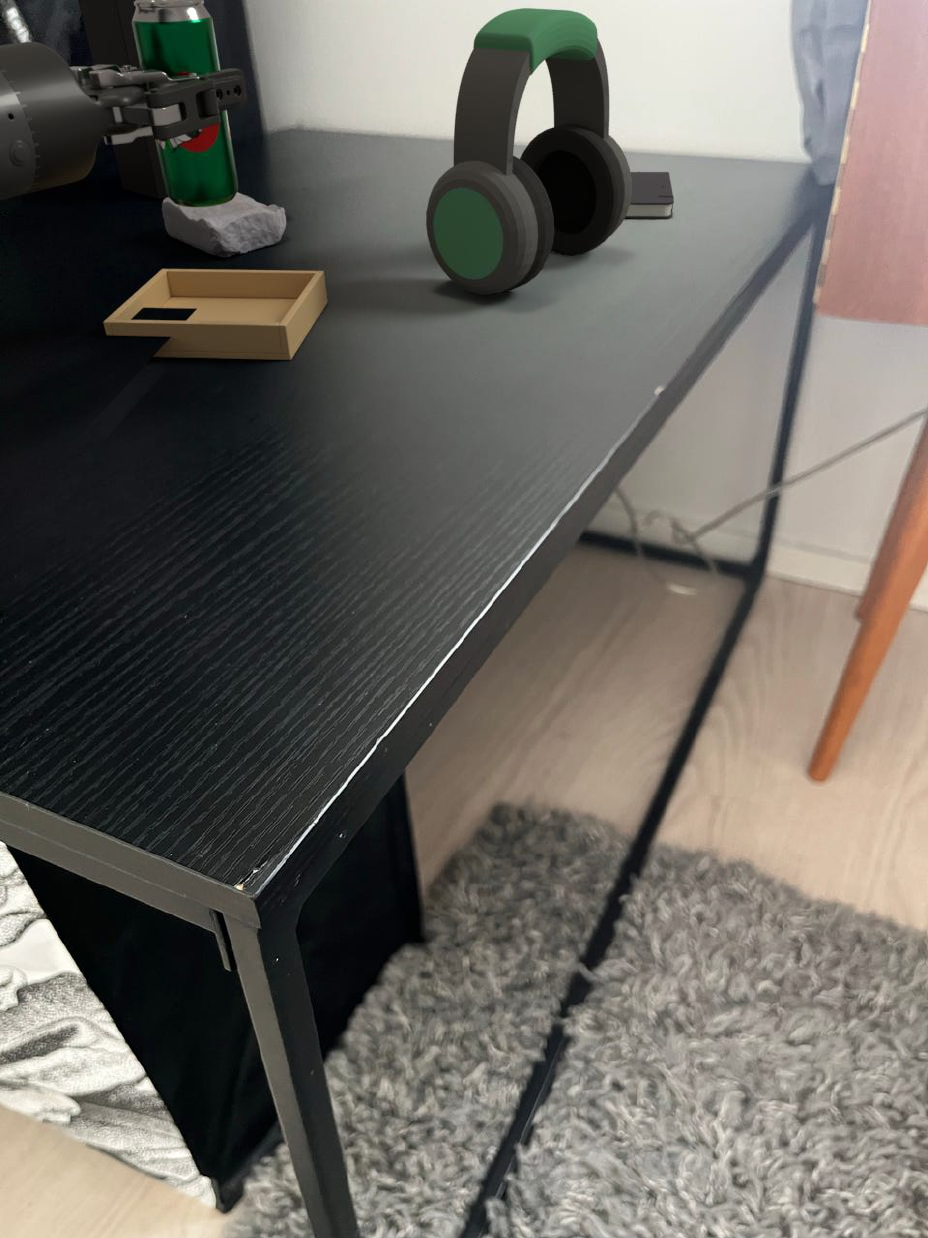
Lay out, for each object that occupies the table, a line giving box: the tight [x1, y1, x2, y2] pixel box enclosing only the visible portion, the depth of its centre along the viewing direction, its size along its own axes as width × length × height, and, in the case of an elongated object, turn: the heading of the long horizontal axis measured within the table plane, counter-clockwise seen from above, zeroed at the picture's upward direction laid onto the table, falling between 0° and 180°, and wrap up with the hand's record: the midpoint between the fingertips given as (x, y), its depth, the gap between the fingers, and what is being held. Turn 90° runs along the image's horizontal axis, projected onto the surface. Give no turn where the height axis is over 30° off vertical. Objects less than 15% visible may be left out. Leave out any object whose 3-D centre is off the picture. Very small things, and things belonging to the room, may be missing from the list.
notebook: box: [624, 171, 675, 219], centre depth 102 cm, size 13×2×21 cm
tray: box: [102, 268, 329, 361], centre depth 76 cm, size 14×12×3 cm
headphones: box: [425, 7, 632, 295], centre depth 79 cm, size 19×11×20 cm, turn 143°
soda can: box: [132, 0, 239, 207], centre depth 63 cm, size 5×5×12 cm
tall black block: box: [77, 0, 168, 200], centre depth 103 cm, size 8×8×28 cm
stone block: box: [161, 191, 287, 259], centre depth 95 cm, size 12×5×10 cm
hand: (213, 82), depth 64 cm, fingers closed on soda can, 5 cm apart
